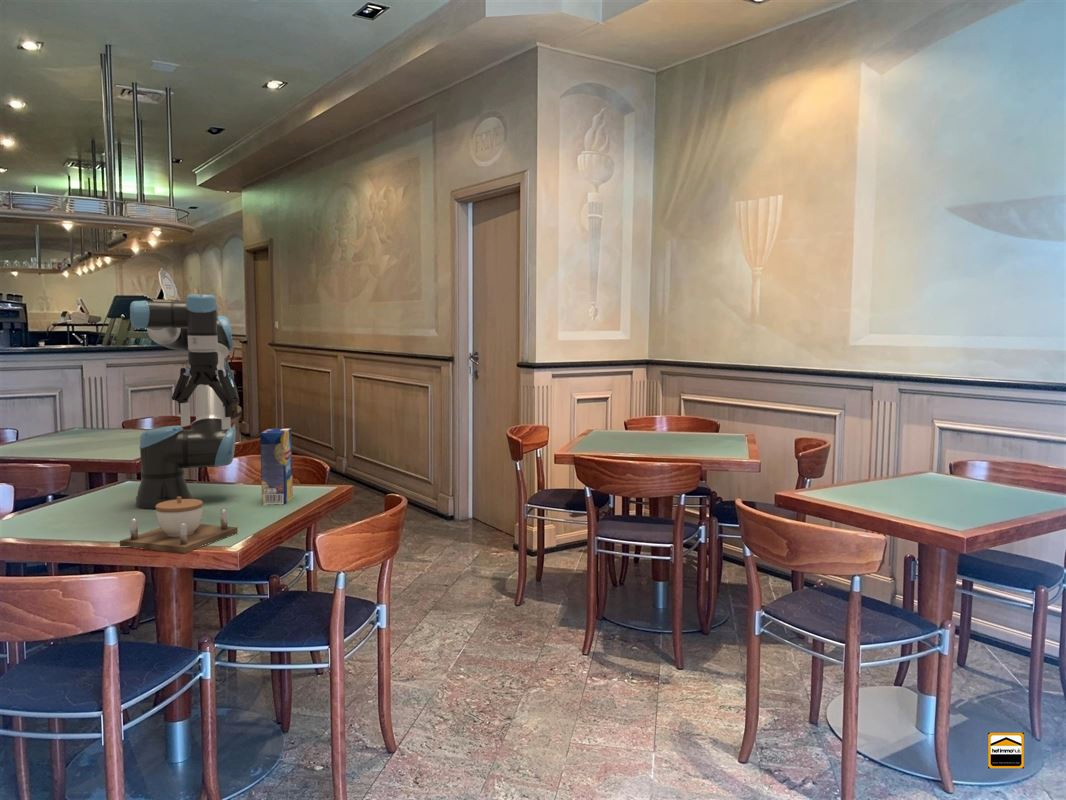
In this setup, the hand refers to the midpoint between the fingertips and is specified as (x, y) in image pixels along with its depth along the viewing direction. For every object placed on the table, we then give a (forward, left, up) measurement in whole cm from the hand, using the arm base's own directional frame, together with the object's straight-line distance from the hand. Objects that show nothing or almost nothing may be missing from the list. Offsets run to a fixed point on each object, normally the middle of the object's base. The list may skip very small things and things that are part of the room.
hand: (205, 427), depth 209 cm
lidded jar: (+8, -21, -24) cm, 33 cm away
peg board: (+9, -21, -26) cm, 34 cm away
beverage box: (+6, +24, -26) cm, 36 cm away
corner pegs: (+9, -21, -24) cm, 33 cm away
